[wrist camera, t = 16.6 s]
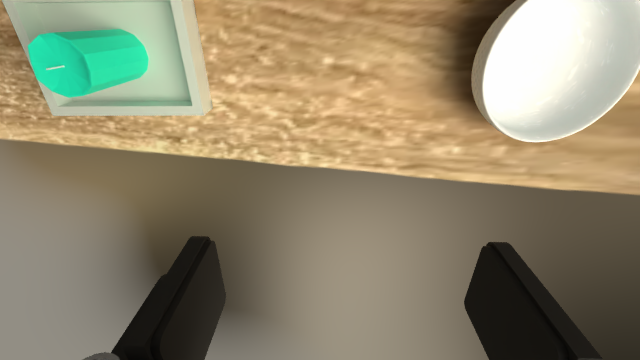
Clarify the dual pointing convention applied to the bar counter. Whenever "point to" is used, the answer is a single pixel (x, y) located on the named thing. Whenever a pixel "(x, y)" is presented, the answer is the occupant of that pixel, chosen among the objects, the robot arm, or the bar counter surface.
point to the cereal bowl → (555, 65)
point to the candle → (87, 60)
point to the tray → (151, 30)
